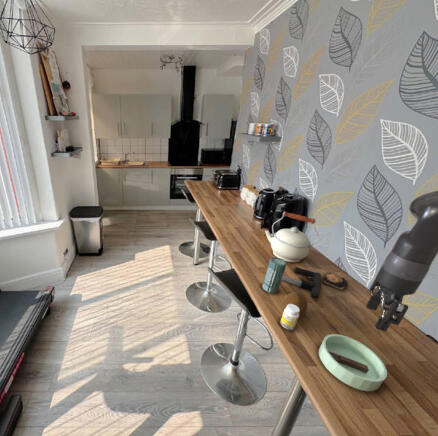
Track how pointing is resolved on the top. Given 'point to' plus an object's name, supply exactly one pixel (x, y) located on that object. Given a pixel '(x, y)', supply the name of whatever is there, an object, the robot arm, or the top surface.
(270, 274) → the can
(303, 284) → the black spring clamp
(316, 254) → the top surface
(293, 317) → the supplement bottle
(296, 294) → the potato
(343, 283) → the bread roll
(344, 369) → the bowl
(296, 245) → the kettle
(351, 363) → the brown bar
